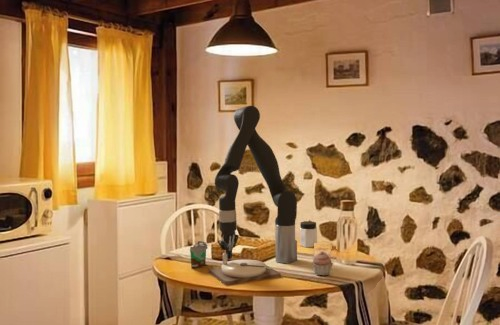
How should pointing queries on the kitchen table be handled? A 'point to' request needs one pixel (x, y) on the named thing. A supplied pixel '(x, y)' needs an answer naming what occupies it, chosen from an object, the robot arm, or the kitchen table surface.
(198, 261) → the food container
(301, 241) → the jar
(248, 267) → the dial
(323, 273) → the cupcake
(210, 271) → the board
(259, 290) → the kitchen table surface
